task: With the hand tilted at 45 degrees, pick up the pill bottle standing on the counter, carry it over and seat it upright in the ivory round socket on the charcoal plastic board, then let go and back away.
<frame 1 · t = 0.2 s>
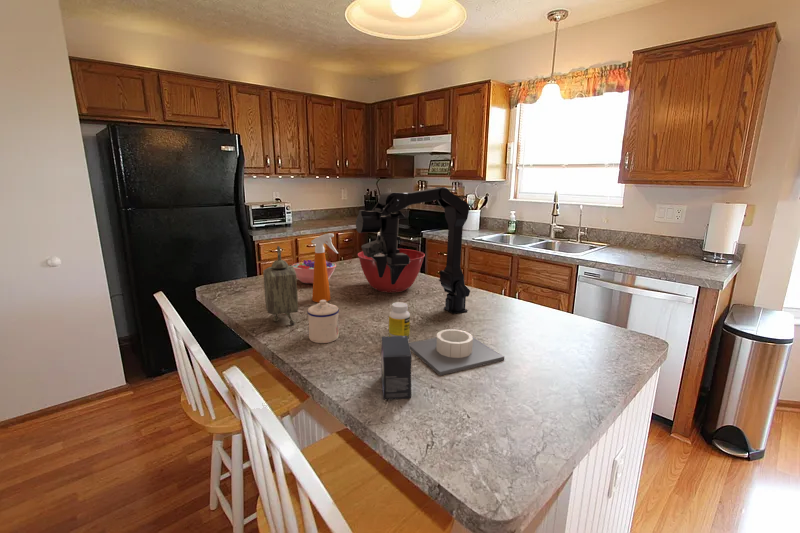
hand: (386, 280, 123), 14 cm above the counter, tool pointing down, fingers open, 9 cm apart
teacup with lid: (322, 336, 115), on the counter
pill bottle: (399, 340, 113), on the counter
cell model: (314, 283, 173), on the counter
spray bottle: (326, 300, 148), on the counter
tabletop clock: (281, 320, 127), on the counter
small box: (395, 387, 88), on the counter
socket board: (453, 353, 105), on the counter
mixing bowl: (390, 288, 166), on the counter
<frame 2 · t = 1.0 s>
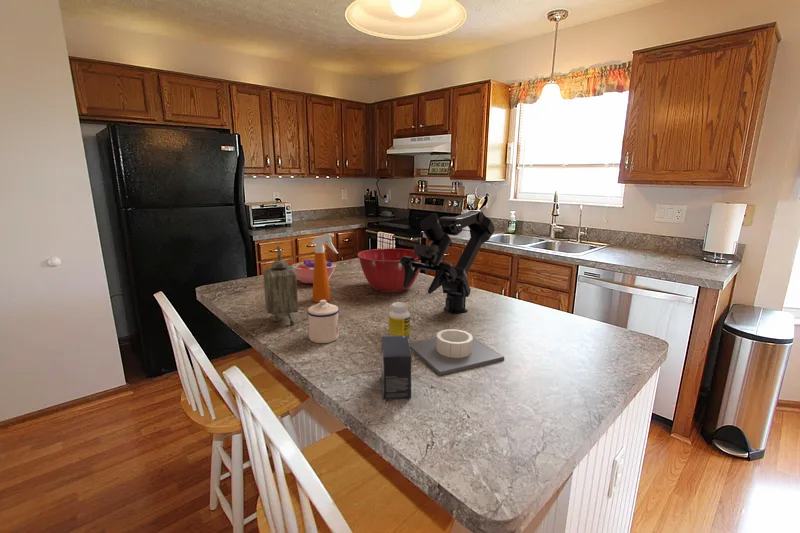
hand: (416, 290, 117), 13 cm above the counter, tool tilted 45°, fingers open, 9 cm apart
nothing on the counter moved.
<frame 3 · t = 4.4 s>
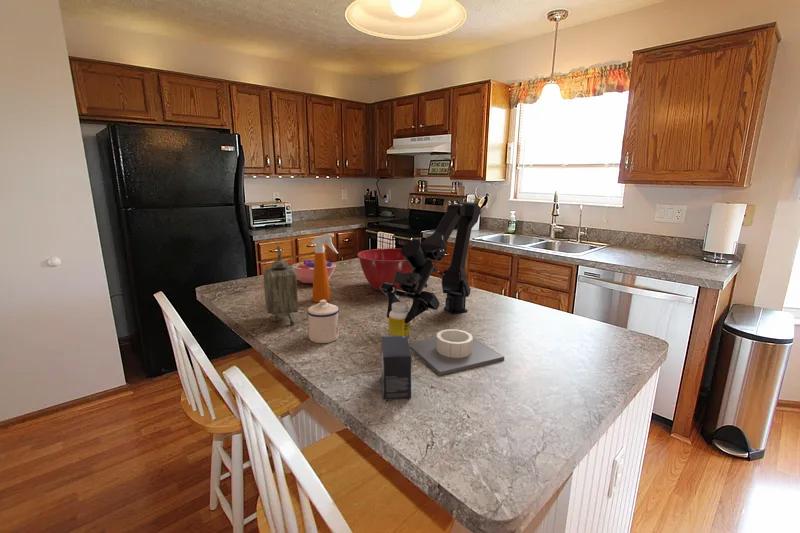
hand: (396, 320, 111), 7 cm above the counter, tool tilted 45°, fingers closed on pill bottle, 6 cm apart
pill bottle: (399, 340, 113), on the counter, touching gripper
everything else where it was.
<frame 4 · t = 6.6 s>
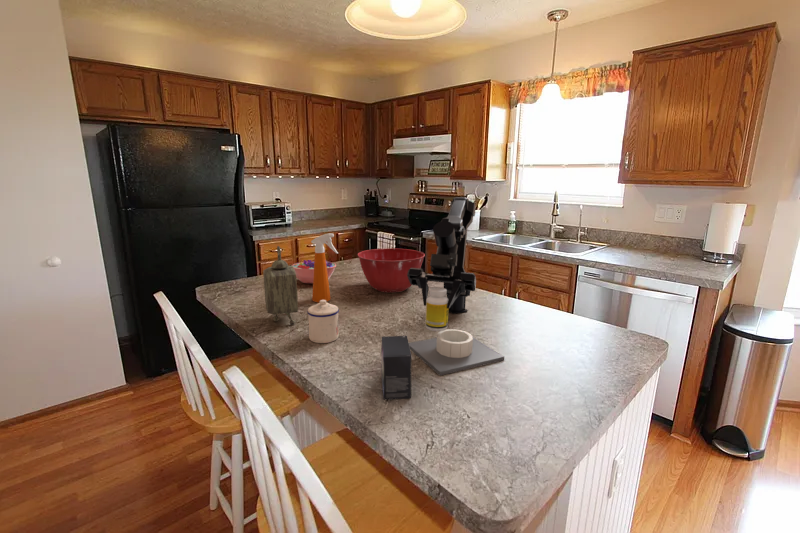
hand: (436, 306, 103), 13 cm above the counter, tool tilted 45°, fingers closed on pill bottle, 6 cm apart
pill bottle: (436, 328, 105), point 6 cm above the counter, touching gripper
everything else where it was.
when the fingers open (8 cm above the counter, at t = 9.1 s): pill bottle stays where it is, resting on socket board.
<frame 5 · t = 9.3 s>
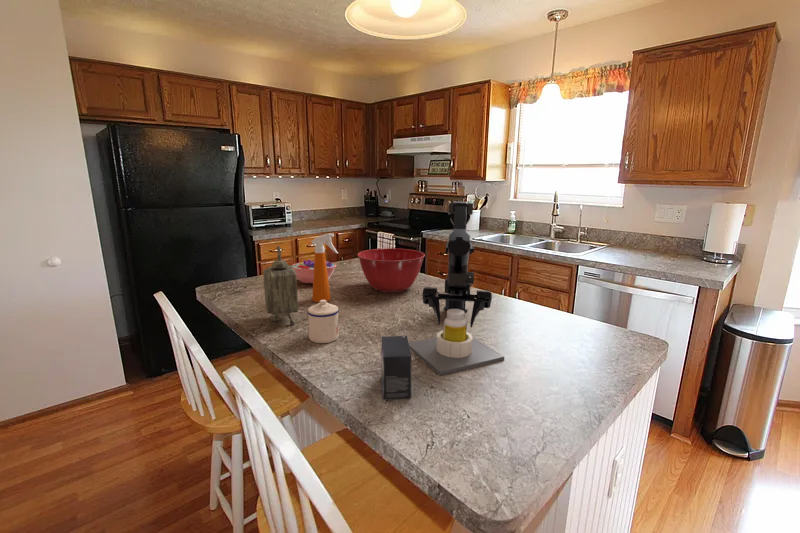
hand: (455, 325, 102), 9 cm above the counter, tool tilted 45°, fingers open, 8 cm apart
pill bottle: (454, 349, 105), point 1 cm above the counter, touching socket board
everything else where it was.
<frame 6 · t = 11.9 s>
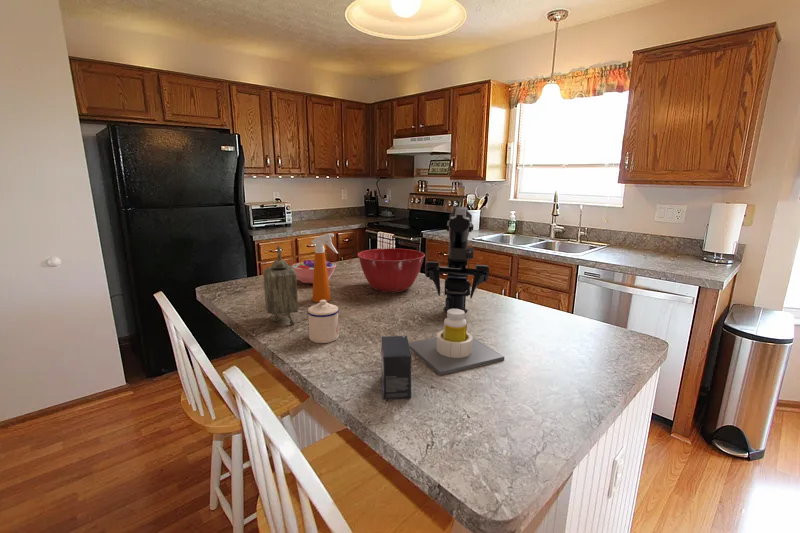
hand: (455, 296, 111), 13 cm above the counter, tool tilted 45°, fingers open, 9 cm apart
nothing on the counter moved.
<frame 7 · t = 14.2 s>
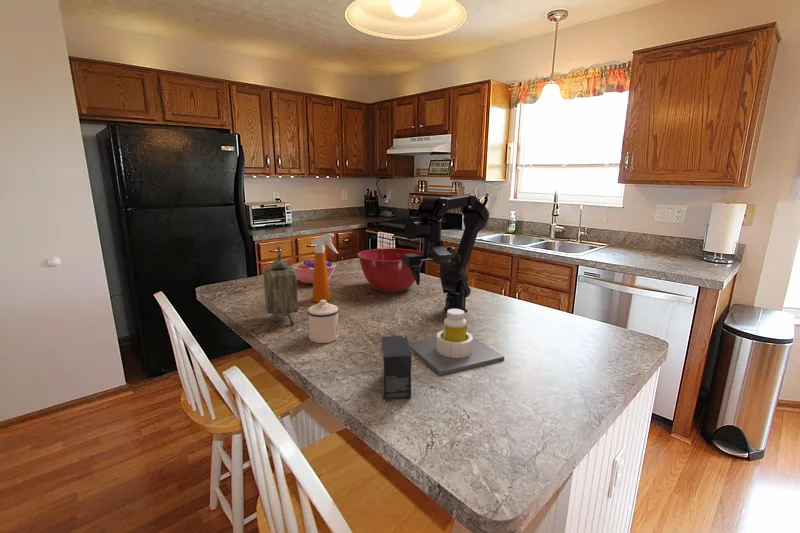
hand: (430, 283, 126), 13 cm above the counter, tool pointing down, fingers open, 9 cm apart
nothing on the counter moved.
at the end: pill bottle 0.2 cm off-centre on the socket board, point 0.8 cm above the socket board's base; pill bottle tilted 0°; the gripper is holding nothing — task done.
